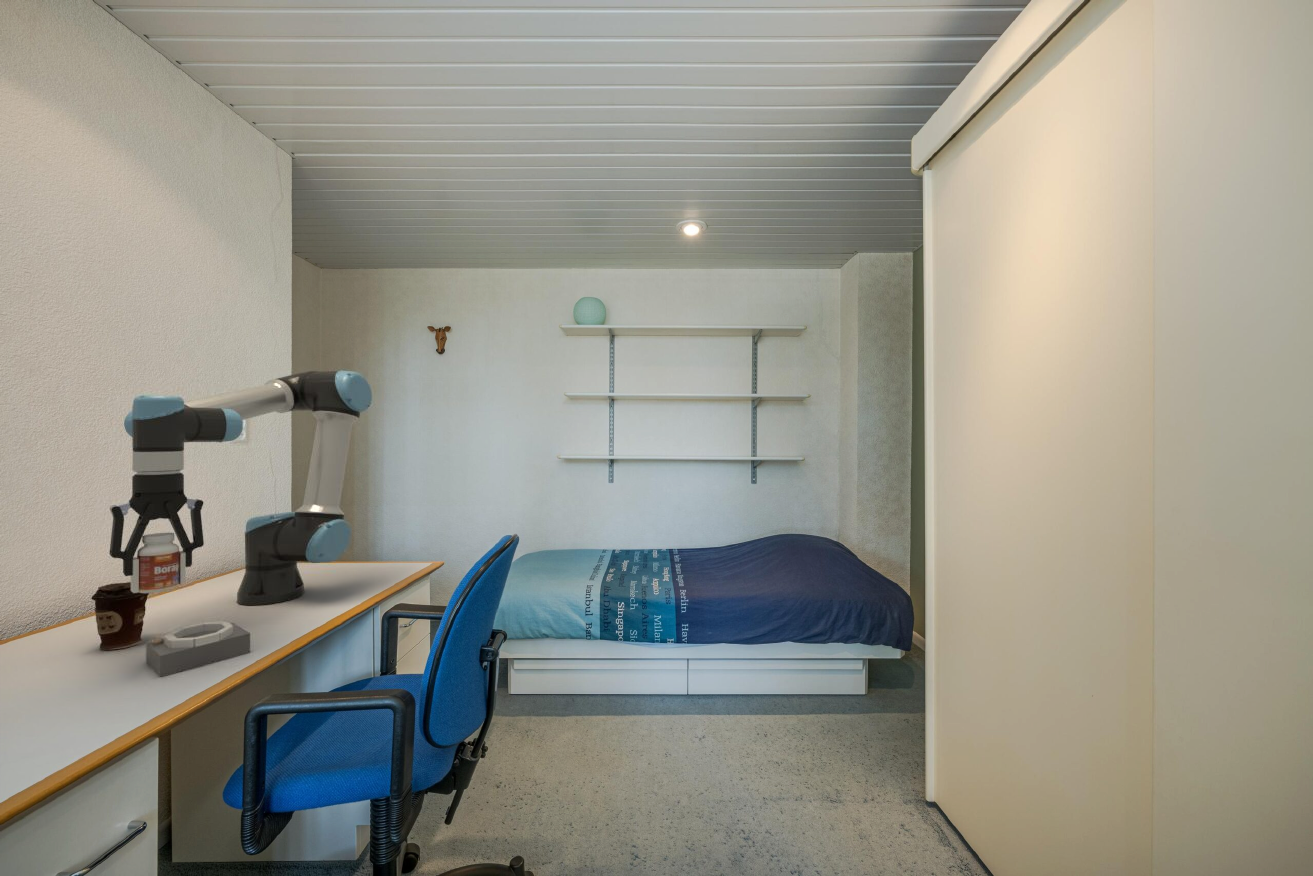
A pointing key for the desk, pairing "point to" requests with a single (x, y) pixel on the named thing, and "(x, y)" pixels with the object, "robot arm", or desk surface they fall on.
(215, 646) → the grey block with ring
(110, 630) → the takeaway cup with lid
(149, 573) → the pill bottle
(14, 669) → the desk surface
